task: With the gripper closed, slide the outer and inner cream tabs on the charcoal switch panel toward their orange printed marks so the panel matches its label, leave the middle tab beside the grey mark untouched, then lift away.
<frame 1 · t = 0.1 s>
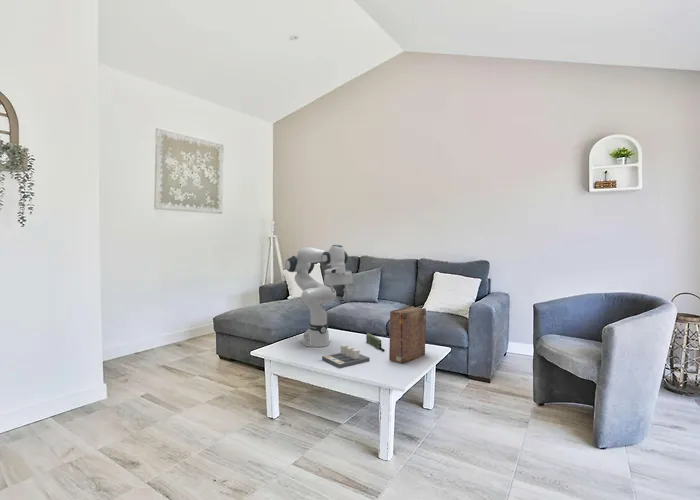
hand: (339, 292, 245), 39 cm above the table, tool pointing down, fingers open, 8 cm apart
handheld radio: (375, 347, 262), on the table
switch panel: (345, 360, 232), on the table
book: (407, 357, 239), on the table
tab middle: (349, 351, 233), point 5 cm above the table, slide at 0.0 cm
tab inner: (344, 349, 238), point 5 cm above the table, slide at 0.0 cm
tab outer: (355, 354, 229), point 5 cm above the table, slide at 0.0 cm
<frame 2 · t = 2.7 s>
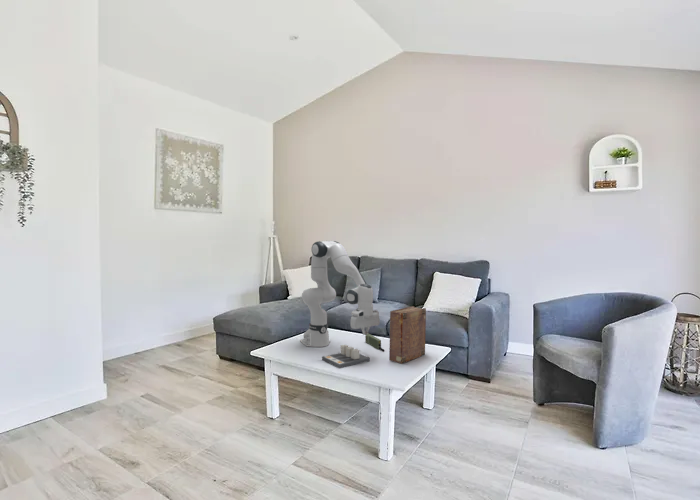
hand: (365, 334, 232), 16 cm above the table, tool pointing down, fingers closed
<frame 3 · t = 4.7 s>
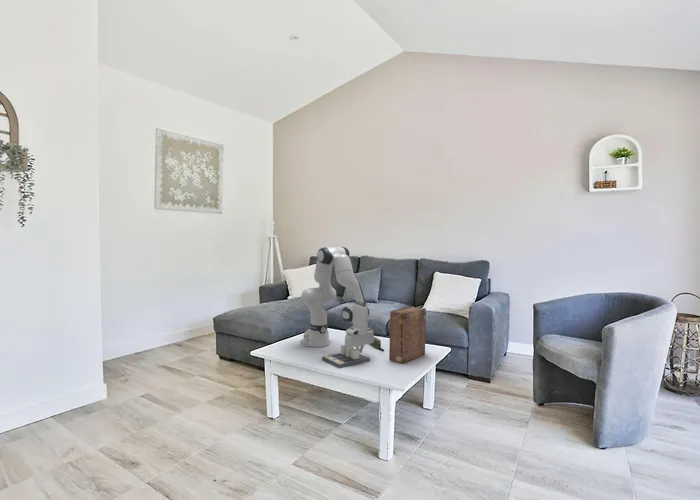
hand: (359, 352, 231), 5 cm above the table, tool pointing down, fingers closed
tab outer: (355, 354, 229), point 5 cm above the table, slide at 0.2 cm, touching gripper
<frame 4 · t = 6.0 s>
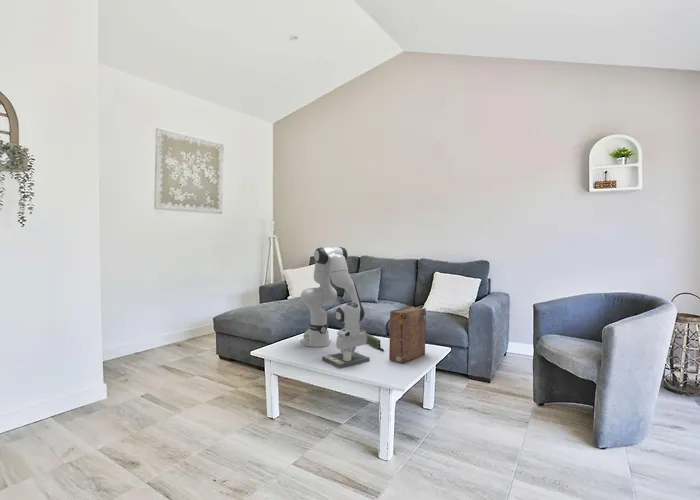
hand: (351, 354, 227), 5 cm above the table, tool pointing down, fingers closed
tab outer: (347, 355, 225), point 5 cm above the table, slide at 6.1 cm, touching gripper
everything else where it was.
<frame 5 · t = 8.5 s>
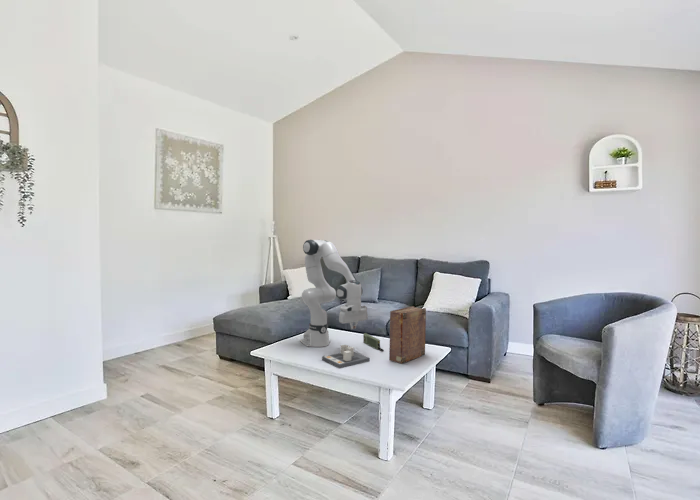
hand: (353, 328, 241), 17 cm above the table, tool pointing down, fingers closed
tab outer: (347, 355, 225), point 5 cm above the table, slide at 6.1 cm
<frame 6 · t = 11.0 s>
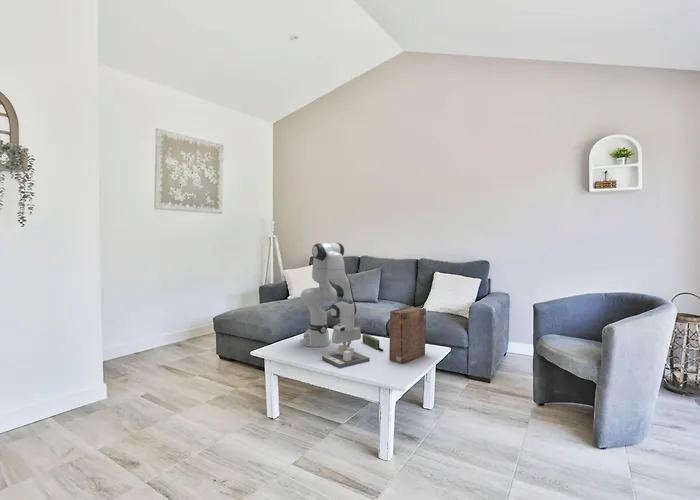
hand: (346, 348, 239), 5 cm above the table, tool pointing down, fingers closed
tab inner: (342, 350, 237), point 5 cm above the table, slide at 1.7 cm, touching gripper
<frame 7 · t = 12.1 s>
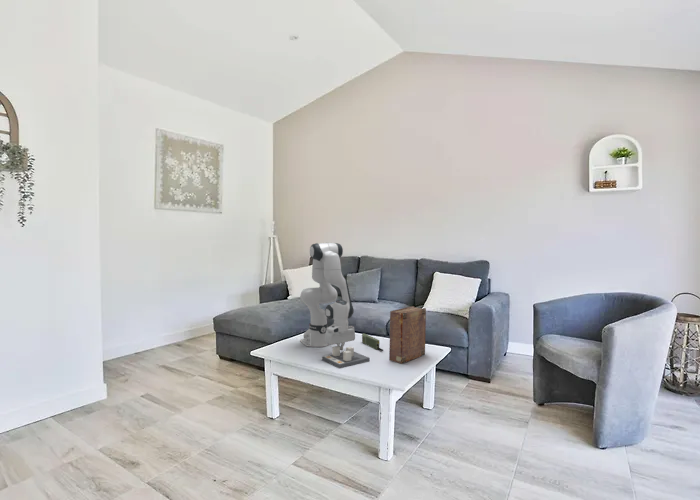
hand: (340, 349, 236), 5 cm above the table, tool pointing down, fingers closed
tab inner: (336, 351, 234), point 5 cm above the table, slide at 6.2 cm, touching gripper
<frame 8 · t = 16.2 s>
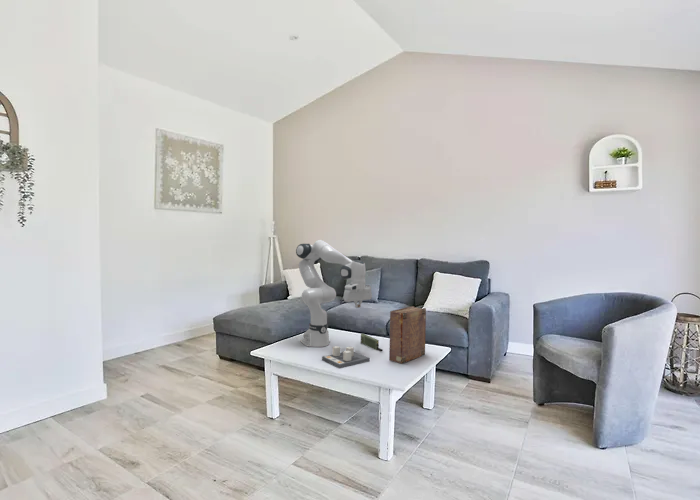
hand: (357, 307, 246), 29 cm above the table, tool pointing down, fingers closed
tab inner: (336, 351, 234), point 5 cm above the table, slide at 6.1 cm
at the end: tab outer slide at 6.1 cm; tab inner slide at 6.1 cm; tab middle slide at 0.0 cm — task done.
